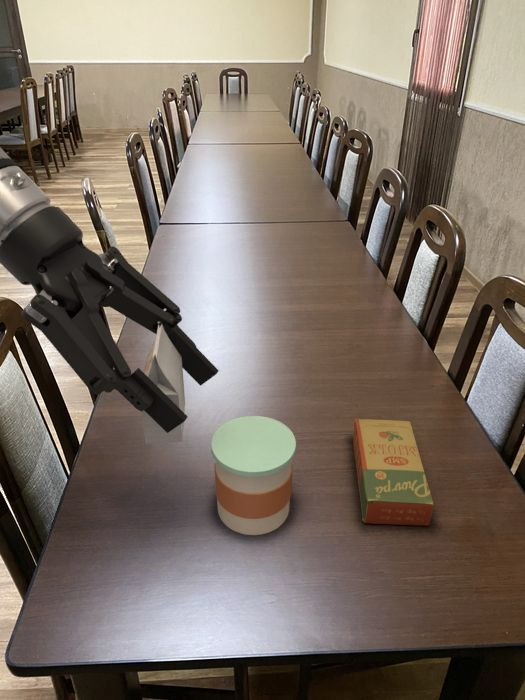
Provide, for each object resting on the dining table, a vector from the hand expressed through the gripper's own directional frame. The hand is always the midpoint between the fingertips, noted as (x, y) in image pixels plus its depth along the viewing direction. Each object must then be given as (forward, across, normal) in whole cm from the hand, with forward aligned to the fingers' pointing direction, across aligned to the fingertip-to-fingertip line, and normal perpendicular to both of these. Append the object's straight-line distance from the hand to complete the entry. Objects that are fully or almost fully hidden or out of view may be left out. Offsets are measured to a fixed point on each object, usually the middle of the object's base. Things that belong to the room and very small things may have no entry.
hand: (194, 400), depth 55 cm
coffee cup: (+17, +6, +11) cm, 22 cm away
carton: (+29, +16, 0) cm, 33 cm away
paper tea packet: (0, 0, +5) cm, 5 cm away
